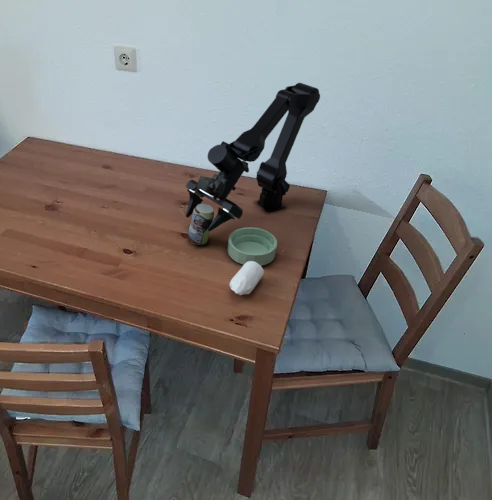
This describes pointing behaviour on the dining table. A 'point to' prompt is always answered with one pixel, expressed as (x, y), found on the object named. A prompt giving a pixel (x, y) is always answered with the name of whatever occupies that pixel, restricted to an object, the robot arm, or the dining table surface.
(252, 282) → the roll
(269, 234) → the bowl
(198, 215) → the beverage can
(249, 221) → the dining table surface
